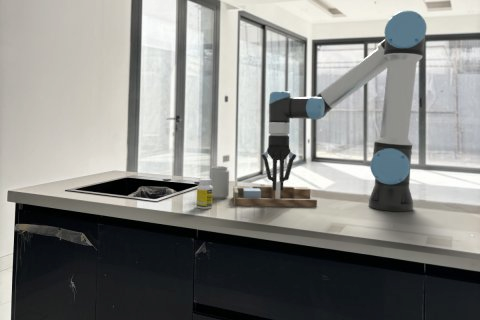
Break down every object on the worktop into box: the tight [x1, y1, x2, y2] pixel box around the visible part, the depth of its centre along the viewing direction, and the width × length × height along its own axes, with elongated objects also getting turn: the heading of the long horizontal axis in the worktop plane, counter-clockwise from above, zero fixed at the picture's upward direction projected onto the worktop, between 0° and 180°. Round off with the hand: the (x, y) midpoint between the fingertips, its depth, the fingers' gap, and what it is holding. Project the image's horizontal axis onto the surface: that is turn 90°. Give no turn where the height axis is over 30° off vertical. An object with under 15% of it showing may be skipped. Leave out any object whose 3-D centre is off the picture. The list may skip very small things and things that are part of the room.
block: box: [243, 188, 261, 198], centre depth 154 cm, size 6×6×5 cm
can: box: [209, 165, 230, 200], centre depth 162 cm, size 8×8×12 cm
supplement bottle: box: [196, 177, 214, 210], centre depth 143 cm, size 5×5×10 cm
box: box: [232, 185, 318, 208], centre depth 156 cm, size 29×16×4 cm, turn 93°
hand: (277, 199), depth 154 cm, fingers closed
